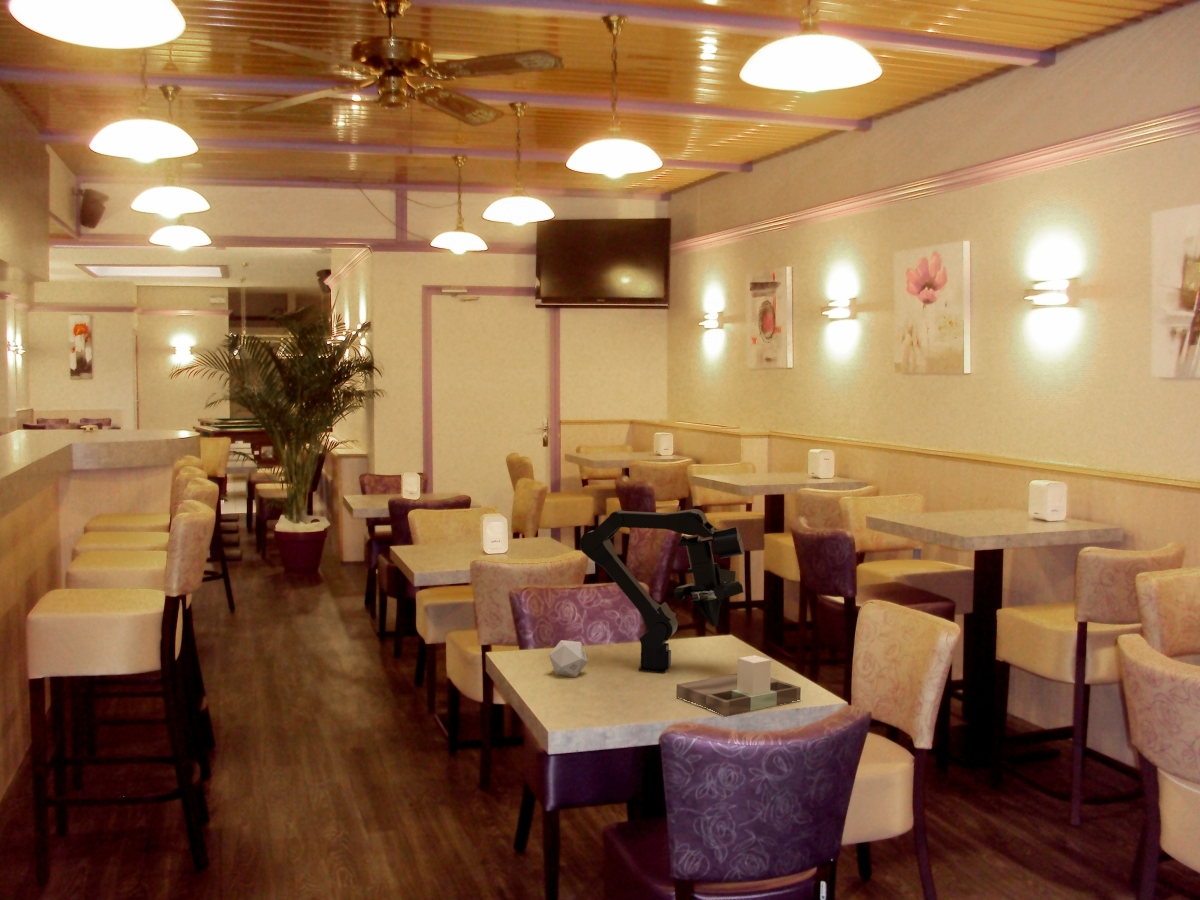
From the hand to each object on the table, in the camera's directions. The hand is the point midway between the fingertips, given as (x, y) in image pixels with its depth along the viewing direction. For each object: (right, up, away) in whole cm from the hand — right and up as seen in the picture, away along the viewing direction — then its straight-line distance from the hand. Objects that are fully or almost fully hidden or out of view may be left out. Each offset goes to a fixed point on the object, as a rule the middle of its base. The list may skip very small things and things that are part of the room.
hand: (715, 626), depth 260 cm
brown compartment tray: (+3, -13, -20) cm, 24 cm away
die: (-35, -11, -2) cm, 37 cm away
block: (+6, -10, -24) cm, 27 cm away
